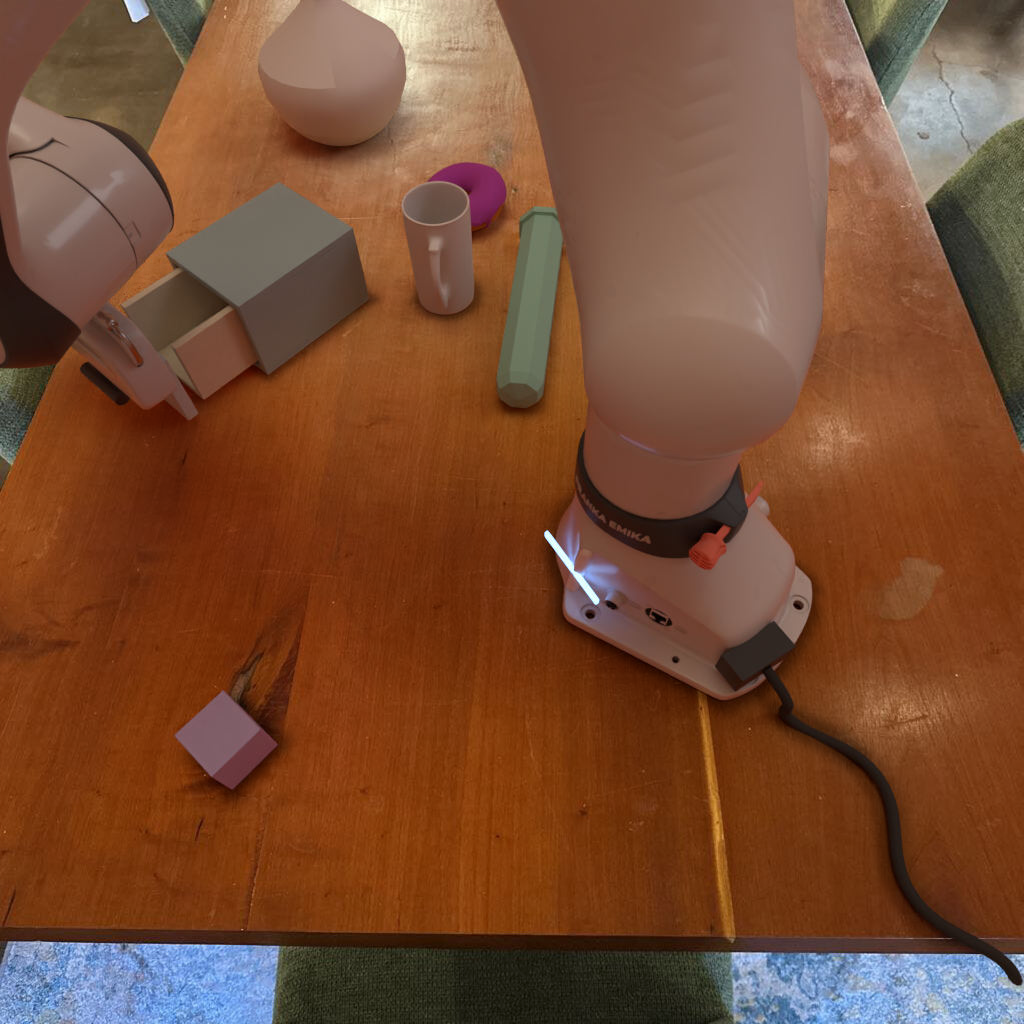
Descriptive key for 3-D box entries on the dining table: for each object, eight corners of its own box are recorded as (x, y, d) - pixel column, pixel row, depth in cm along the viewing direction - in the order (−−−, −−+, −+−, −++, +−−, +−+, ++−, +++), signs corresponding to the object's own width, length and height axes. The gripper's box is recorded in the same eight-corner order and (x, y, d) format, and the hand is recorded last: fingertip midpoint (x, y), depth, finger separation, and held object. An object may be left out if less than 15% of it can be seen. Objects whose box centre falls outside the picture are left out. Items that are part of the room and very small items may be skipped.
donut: (462, 176, 96) (459, 142, 92) (525, 208, 93) (525, 174, 89) (406, 219, 92) (401, 185, 88) (470, 253, 89) (468, 220, 85)
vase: (250, 123, 103) (198, -37, 87) (360, 71, 109) (330, -88, 93) (328, 185, 96) (287, 23, 79) (441, 125, 102) (424, -37, 86)
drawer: (152, 447, 74) (115, 395, 67) (92, 393, 78) (51, 339, 71) (293, 343, 81) (272, 286, 74) (232, 298, 84) (206, 240, 78)
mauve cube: (278, 744, 60) (260, 729, 56) (232, 790, 58) (211, 777, 54) (242, 707, 61) (223, 690, 57) (196, 750, 60) (173, 735, 56)
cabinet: (268, 375, 80) (238, 306, 71) (200, 323, 84) (164, 252, 75) (370, 299, 85) (353, 227, 77) (302, 254, 89) (279, 181, 81)
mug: (418, 274, 87) (404, 181, 77) (477, 274, 87) (470, 180, 77) (411, 339, 82) (394, 248, 71) (474, 339, 82) (466, 248, 71)
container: (534, 374, 71) (559, 198, 83) (477, 385, 73) (509, 213, 86) (556, 413, 75) (577, 240, 88) (502, 422, 78) (530, 253, 90)
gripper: (155, 307, 59) (217, 418, 71) (17, 198, 66) (95, 316, 78) (84, 353, 57) (161, 460, 69) (-50, 235, 64) (40, 351, 76)
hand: (124, 382), depth 74 cm, fingers closed
